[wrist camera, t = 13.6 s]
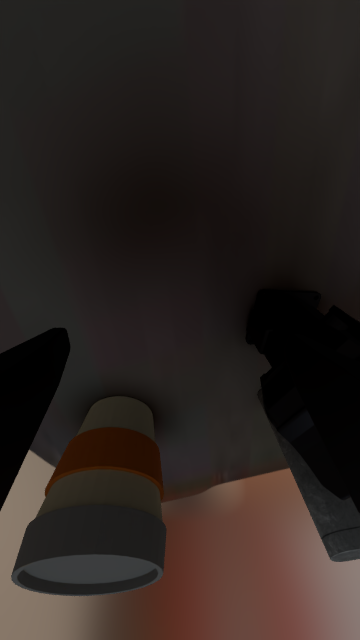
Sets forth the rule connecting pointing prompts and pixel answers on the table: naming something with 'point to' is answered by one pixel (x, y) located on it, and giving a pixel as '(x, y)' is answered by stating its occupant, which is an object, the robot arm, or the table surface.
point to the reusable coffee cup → (100, 509)
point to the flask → (324, 506)
